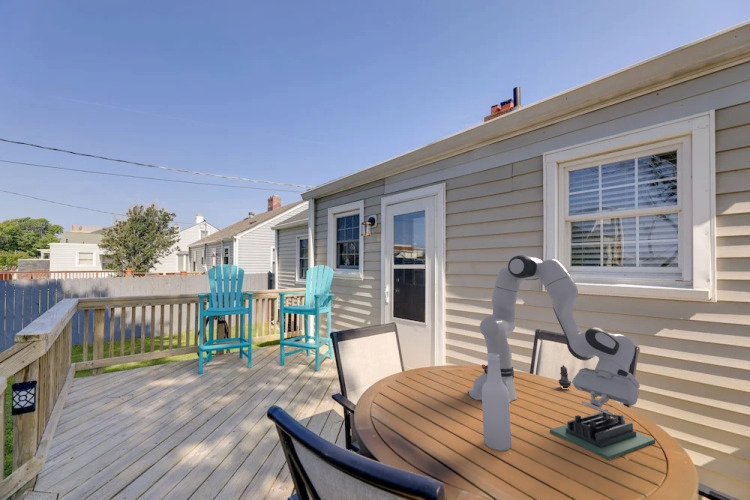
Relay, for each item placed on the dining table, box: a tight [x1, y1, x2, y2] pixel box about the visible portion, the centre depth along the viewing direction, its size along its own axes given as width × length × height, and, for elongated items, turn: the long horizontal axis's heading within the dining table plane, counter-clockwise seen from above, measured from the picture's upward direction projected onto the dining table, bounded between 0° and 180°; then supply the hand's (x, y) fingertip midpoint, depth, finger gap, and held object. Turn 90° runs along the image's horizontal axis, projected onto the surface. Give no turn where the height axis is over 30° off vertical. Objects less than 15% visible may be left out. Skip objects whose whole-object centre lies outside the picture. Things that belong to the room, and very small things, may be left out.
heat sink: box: [565, 408, 637, 448], centre depth 111 cm, size 20×12×6 cm, turn 114°
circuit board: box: [549, 424, 656, 461], centre depth 111 cm, size 26×20×1 cm
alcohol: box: [481, 353, 512, 452], centre depth 107 cm, size 9×9×30 cm
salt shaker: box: [557, 364, 572, 388], centre depth 162 cm, size 6×6×12 cm
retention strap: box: [581, 400, 618, 419], centre depth 112 cm, size 17×3×1 cm, turn 111°
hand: (595, 405), depth 111 cm, fingers closed, pressing on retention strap
